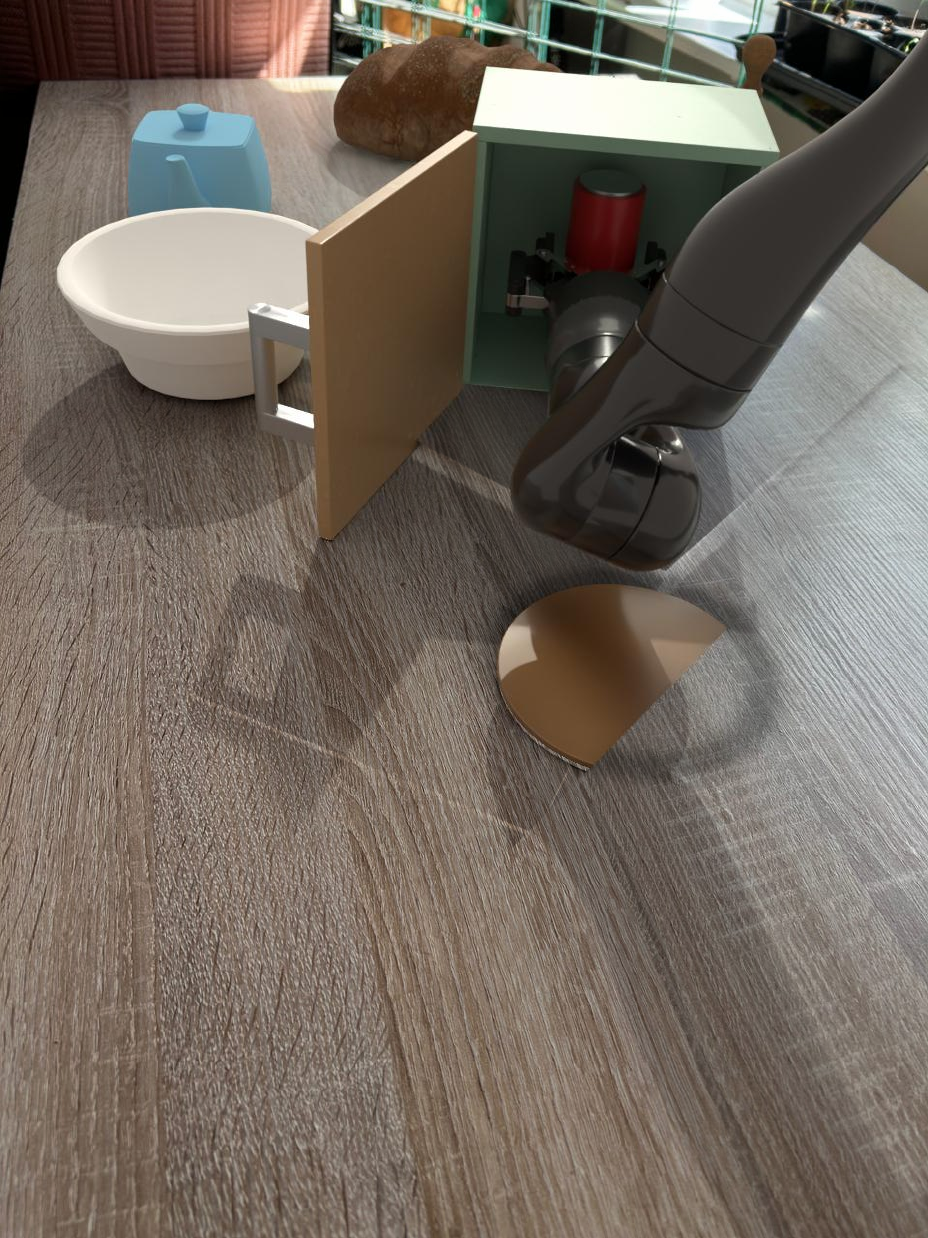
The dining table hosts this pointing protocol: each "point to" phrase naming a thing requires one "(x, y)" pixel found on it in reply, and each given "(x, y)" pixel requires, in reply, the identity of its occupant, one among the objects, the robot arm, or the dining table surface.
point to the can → (605, 220)
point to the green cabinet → (570, 146)
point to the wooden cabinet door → (376, 329)
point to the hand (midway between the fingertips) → (599, 248)
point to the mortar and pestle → (757, 60)
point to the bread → (420, 94)
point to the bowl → (189, 294)
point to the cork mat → (597, 662)
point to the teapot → (197, 162)
